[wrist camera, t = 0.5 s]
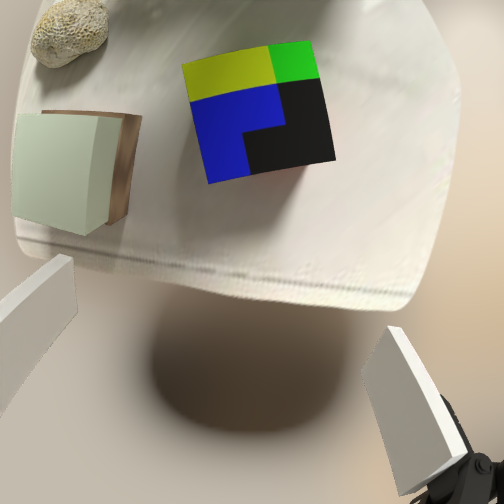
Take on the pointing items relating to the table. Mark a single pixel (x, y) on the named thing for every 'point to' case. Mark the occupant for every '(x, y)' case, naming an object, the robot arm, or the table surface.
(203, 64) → the puzzle toy
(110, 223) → the walnut slab
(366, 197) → the table surface
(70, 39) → the decorative item
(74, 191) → the sage slab
